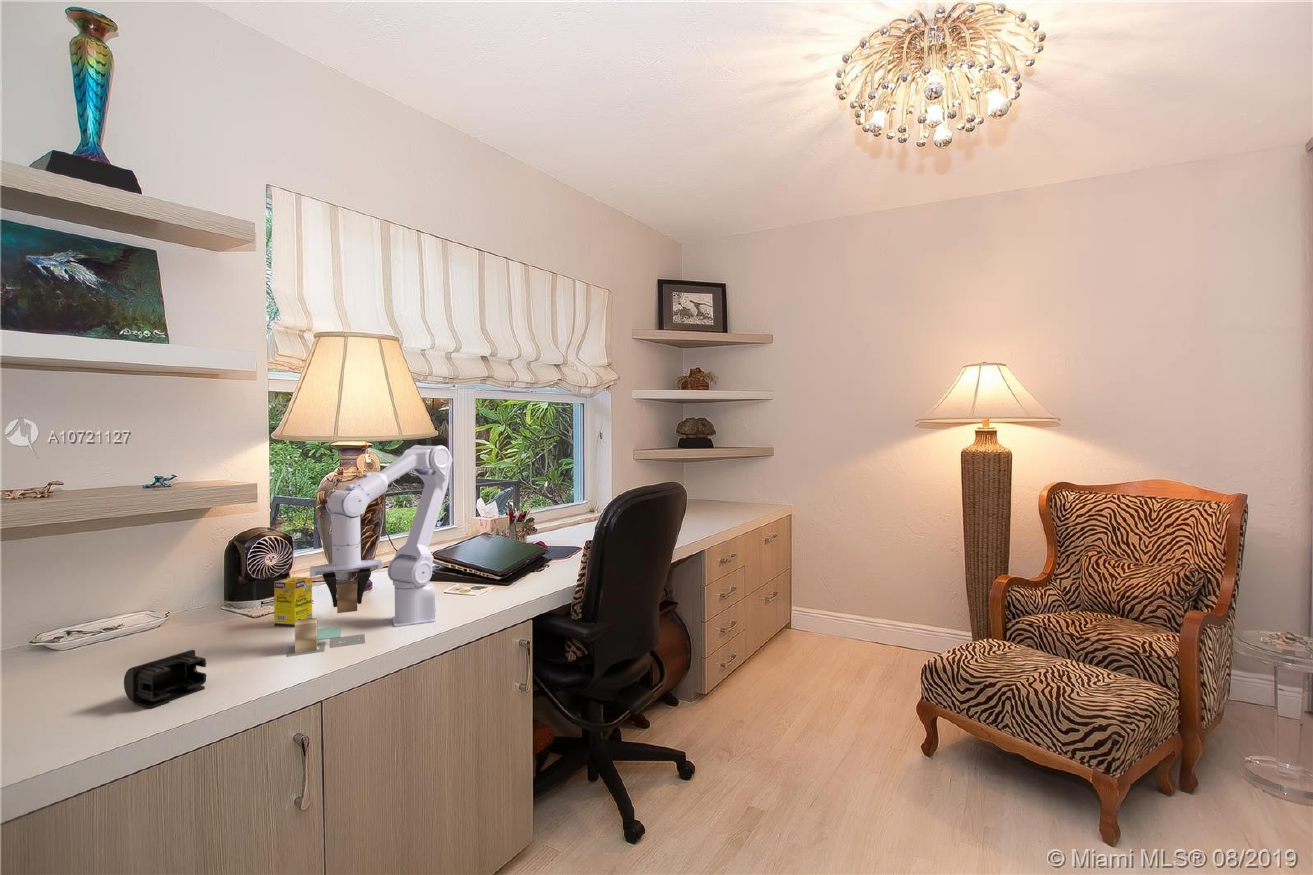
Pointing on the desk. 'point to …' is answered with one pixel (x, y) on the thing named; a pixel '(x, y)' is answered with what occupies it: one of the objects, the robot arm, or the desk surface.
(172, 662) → the end cap
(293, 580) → the supplement box
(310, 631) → the oak block
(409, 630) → the desk surface
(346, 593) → the walnut block
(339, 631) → the felt pad
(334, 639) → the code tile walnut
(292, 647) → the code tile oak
